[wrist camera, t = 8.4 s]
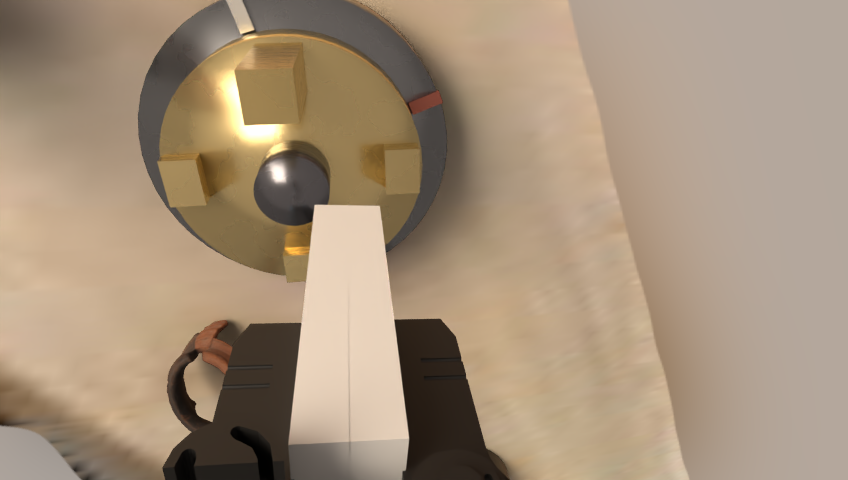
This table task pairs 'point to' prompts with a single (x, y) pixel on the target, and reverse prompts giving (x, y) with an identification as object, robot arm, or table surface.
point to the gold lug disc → (279, 122)
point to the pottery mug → (202, 343)
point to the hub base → (305, 19)
